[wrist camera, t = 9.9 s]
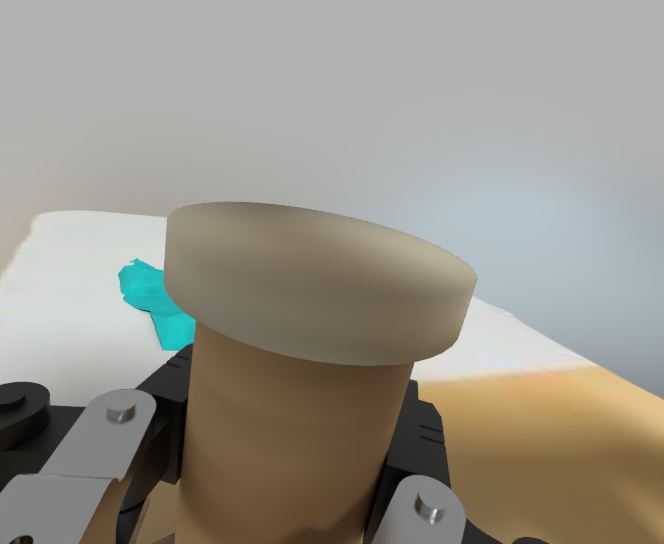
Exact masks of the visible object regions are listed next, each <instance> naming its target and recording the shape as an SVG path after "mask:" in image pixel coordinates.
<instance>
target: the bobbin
mask: <svg viewBox="0 0 664 544" xmlns="http://www.w3.org/2000/svg"><path fill="white" fill-rule="evenodd" d="M476 282H477V276H476V273H475V272H474V270H473V269H472V268H471V267H470V266H469V265H468V264H467V263H466V262H464V261H463V260H462V259H460V258H459V257H457V256H456V255H454V254H452V253H451V252H449V251H447V250H445V249H443V248H441V247H439V246H437V245H435V244H432V243H430V242H427V241H425V240H423V239H420V238H418V237H415V236H412V235H410V234H407V233H404V232H401V231H398V230H395V229H392V228H388V227H385V226H382V225H378V224H374V223H371V222H367V221H363V220H359V219H355V218H351V217H346V216H342V215H338V214H333V213H327V212H322V211H317V210H311V209H305V208H298V207H291V206H284V205H274V204H264V203H250V202H212V203H201V204H194V205H189V206H185V207H182V208H179V209H177V210H175V211H174V212H172V213H171V214H170V215H169V216H168V218H167V229H166V245H165V260H164V275H163V284H164V287H165V290H166V292H167V294H168V295H169V297H170V298H171V300H172V301H173V302H174V303H175V304H176V305H177V306H178V307H179V308H180V309H181V310H182V311H183V312H185V313H186V314H188V315H189V316H190V317H192V318H193V319H195V320H196V323H195V333H194V344H193V354H192V364H191V375H190V385H189V395H188V406H187V416H186V426H185V437H184V447H183V457H182V468H181V478H180V488H179V499H178V509H177V520H176V530H175V540H174V544H360V543H361V540H362V537H363V533H364V528H365V525H366V522H367V518H368V515H369V512H370V508H371V505H372V502H373V498H374V495H375V491H376V488H377V485H378V481H379V478H380V475H381V471H382V468H383V465H384V461H385V458H386V455H387V451H388V449H389V446H390V443H391V439H392V436H393V433H394V429H395V426H396V423H397V419H398V416H399V413H400V409H401V406H402V403H403V399H404V396H405V393H406V389H407V386H408V382H409V379H410V376H411V372H412V369H413V366H414V362H417V361H421V360H424V359H428V358H431V357H434V356H436V355H438V354H441V353H443V352H444V351H446V350H447V349H449V348H450V347H452V346H453V344H454V343H455V342H456V341H457V339H458V337H459V334H460V331H461V327H462V324H463V321H464V318H465V315H466V312H467V309H468V306H469V303H470V300H471V297H472V294H473V291H474V288H475V285H476Z"/></svg>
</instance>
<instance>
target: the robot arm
mask: <svg viewBox="0 0 664 544" xmlns="http://www.w3.org/2000/svg"><path fill="white" fill-rule="evenodd" d="M193 344H194V343H191V344H188V345H186V346H185V347H184V348H182V349H181V350H180V351H179V352H178V353H177V354H175V357H174V356H173V357H172V358H171V359H169V360H168V361H167V362H166V364H164V365H162V366H161V367H160V368H159V369H158V370H157V371H155V372H154V373H153V374H152V375H151V376H149V377H148V378H147V379H146V380H145V381H144V382H142V383H141V384H140V385H139V386H138V387H137V388H135V389H121V390H115V391H111V392H108V393H105V394H103V395H100V396H99V397H97V398H95V399H94V400H93V401H91V402H90V403H89V405H88V406H87V407H71V406H51V405H50V393H49V391H48V389H47V388H46V387H44V386H42V385H40V384H37V383H32V382H13V383H7V384H2V385H0V544H135V541H136V538H137V536H138V533H139V530H140V527H141V525H142V522H143V519H144V517H145V514H146V511H147V508H148V506H149V502H150V492H151V491H152V490H153V488H154V487H155V486H156V484H157V483H158V482H159V480H161V481H165V482H168V483H171V484H174V485H175V484H176V483H177V481H178V480H179V478H180V477H181V468H182V457H183V447H184V437H185V426H186V416H187V406H188V395H189V385H190V375H191V364H192V354H193ZM444 444H445V441H444V434H443V426H442V418H441V416H440V415H439V413H438V411H437V410H436V408H435V407H434V405H433V404H432V403H428V402H425V401H421V400H418V383H417V381H415V380H411V379H409V382H408V386H407V389H406V393H405V396H404V399H403V403H402V406H401V409H400V413H399V416H398V419H397V423H396V426H395V429H394V433H393V436H392V439H391V443H390V446H389V449H388V451H387V455H386V458H385V461H384V465H383V468H382V471H381V475H380V478H379V481H378V485H377V488H376V491H375V495H374V498H373V502H372V505H371V508H370V512H369V515H368V518H367V522H366V525H365V528H364V535H363V544H502V543H501V542H499V541H497V540H496V539H494V538H492V537H491V536H489V535H487V534H486V533H484V532H483V531H481V530H480V529H478V528H477V527H476V526H474V525H473V524H472V523H471V522H470V521H469V520H468V519H467V518H466V514H465V510H464V507H463V505H462V503H461V501H460V500H459V498H458V497H457V496H456V494H455V493H454V492H453V491H452V490H451V486H450V478H449V471H448V463H447V456H446V448H445V446H444ZM512 544H549V543H547V542H545V541H542V540H540V539H536V538H531V537H522V538H518V539H517V540H515V541H514V542H513V543H512Z"/></svg>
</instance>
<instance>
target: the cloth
mask: <svg viewBox="0 0 664 544" xmlns="http://www.w3.org/2000/svg"><path fill="white" fill-rule="evenodd" d="M130 262H132V263H135V266H134V265H131V266H124V267H123V269H122V270H121V271H120V272H119V274H118V276H119V279H120V288H121V293H123V294H124V295H125V296H124V297H123V299H124V300H125V302H127V303H128V304H130V305H131V306H133V307H134V308H138V309H143V310H147V311H150V313H151V317H152V319H153V321H154V323H155V327H156V330H157V333H158V336H159V339H160V342H161V345H162V349H163V350H173V351H180V350H181V349H182V348H184V347H185V346H186V345H188V344H191V343H194V333H195V323H196V320H195V319H193V318H192V317H190V316H189V315H188V314H186V313H185V312H183V311H182V310H181V309H180V308H179V307H178V306H177V305H176V304H175V303H174V302H173V301H172V300H171V298H170V297H169V295H168V294H167V292H166V290H165V287H164V284H163V275H164V271H163V270H158V269H155V268H154V267H152V266H150V265H148V264H146V263H144V262H142V261H140V260H138V259H137V258H136V259H135V260H133V261H130Z"/></svg>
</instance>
